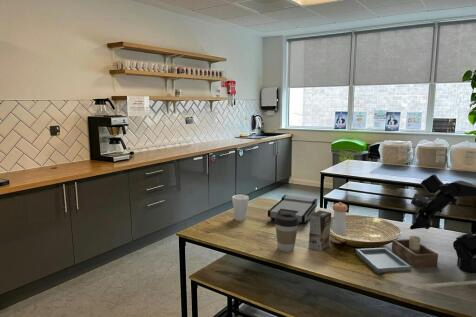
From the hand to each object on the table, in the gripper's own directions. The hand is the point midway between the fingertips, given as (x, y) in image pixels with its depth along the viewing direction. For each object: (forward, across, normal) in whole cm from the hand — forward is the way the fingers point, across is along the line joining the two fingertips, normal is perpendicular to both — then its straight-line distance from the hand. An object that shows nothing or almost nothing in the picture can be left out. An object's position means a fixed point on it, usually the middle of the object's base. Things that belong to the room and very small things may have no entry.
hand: (412, 223), depth 153 cm
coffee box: (+28, +22, -23) cm, 42 cm away
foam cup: (+61, +13, -62) cm, 88 cm away
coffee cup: (+33, +33, -34) cm, 58 cm away
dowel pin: (+6, +11, +8) cm, 15 cm away
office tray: (+52, -8, -41) cm, 66 cm away
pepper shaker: (+28, +10, -17) cm, 34 cm away
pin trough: (+7, +12, +9) cm, 16 cm away
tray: (+11, +22, -1) cm, 25 cm away
